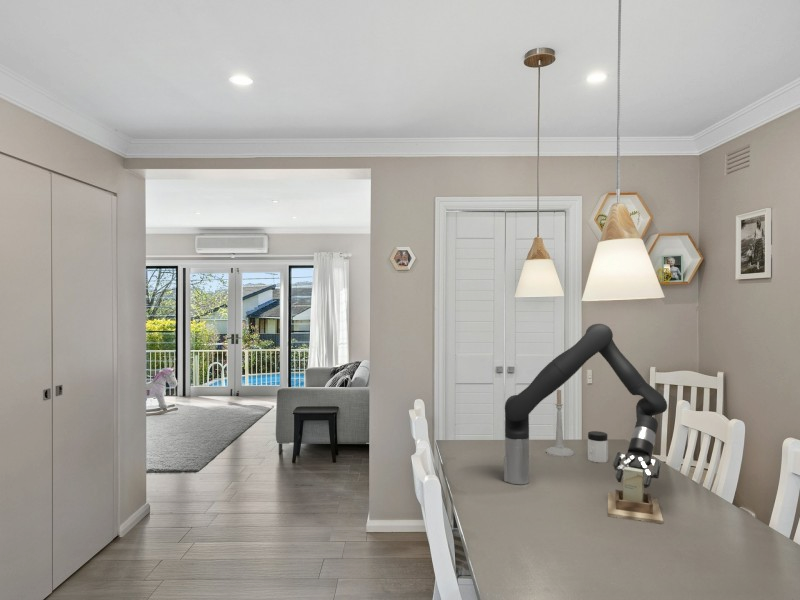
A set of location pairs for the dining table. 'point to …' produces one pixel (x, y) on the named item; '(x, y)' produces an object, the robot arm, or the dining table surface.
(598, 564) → the dining table surface
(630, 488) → the skincare box
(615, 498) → the carrier plate
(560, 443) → the candlestick
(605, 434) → the jar
